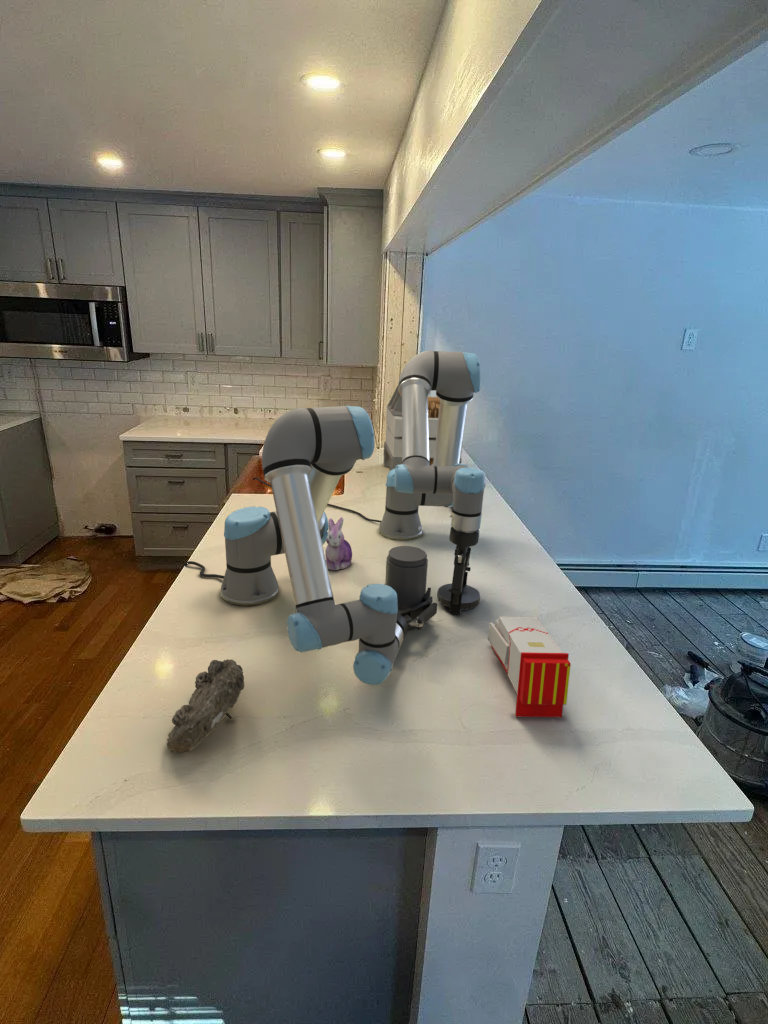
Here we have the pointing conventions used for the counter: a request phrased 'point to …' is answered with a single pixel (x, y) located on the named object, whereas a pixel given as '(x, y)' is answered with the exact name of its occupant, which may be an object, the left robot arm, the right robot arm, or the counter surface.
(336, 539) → the figurine
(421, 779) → the counter surface
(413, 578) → the jar
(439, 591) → the lid
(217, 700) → the fossil
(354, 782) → the counter surface
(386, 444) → the white slatted box
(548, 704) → the toy
